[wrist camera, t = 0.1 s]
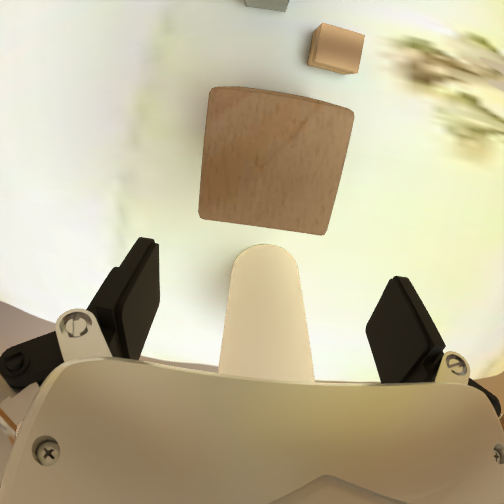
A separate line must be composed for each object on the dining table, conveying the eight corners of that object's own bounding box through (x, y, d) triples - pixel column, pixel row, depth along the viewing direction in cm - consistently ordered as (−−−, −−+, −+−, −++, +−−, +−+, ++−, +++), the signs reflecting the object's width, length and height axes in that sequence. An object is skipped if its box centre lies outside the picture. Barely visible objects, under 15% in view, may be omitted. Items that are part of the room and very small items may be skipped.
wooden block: (225, 157, 40) (196, 221, 23) (234, 86, 34) (209, 86, 17) (298, 168, 40) (326, 238, 23) (311, 98, 35) (357, 111, 18)
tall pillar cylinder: (267, 307, 53) (269, 438, 32) (219, 275, 50) (194, 411, 28) (311, 269, 49) (338, 406, 27) (261, 231, 45) (260, 370, 24)
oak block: (313, 31, 30) (322, 22, 25) (350, 41, 30) (364, 35, 25) (307, 65, 33) (314, 61, 28) (344, 74, 33) (357, 73, 28)
